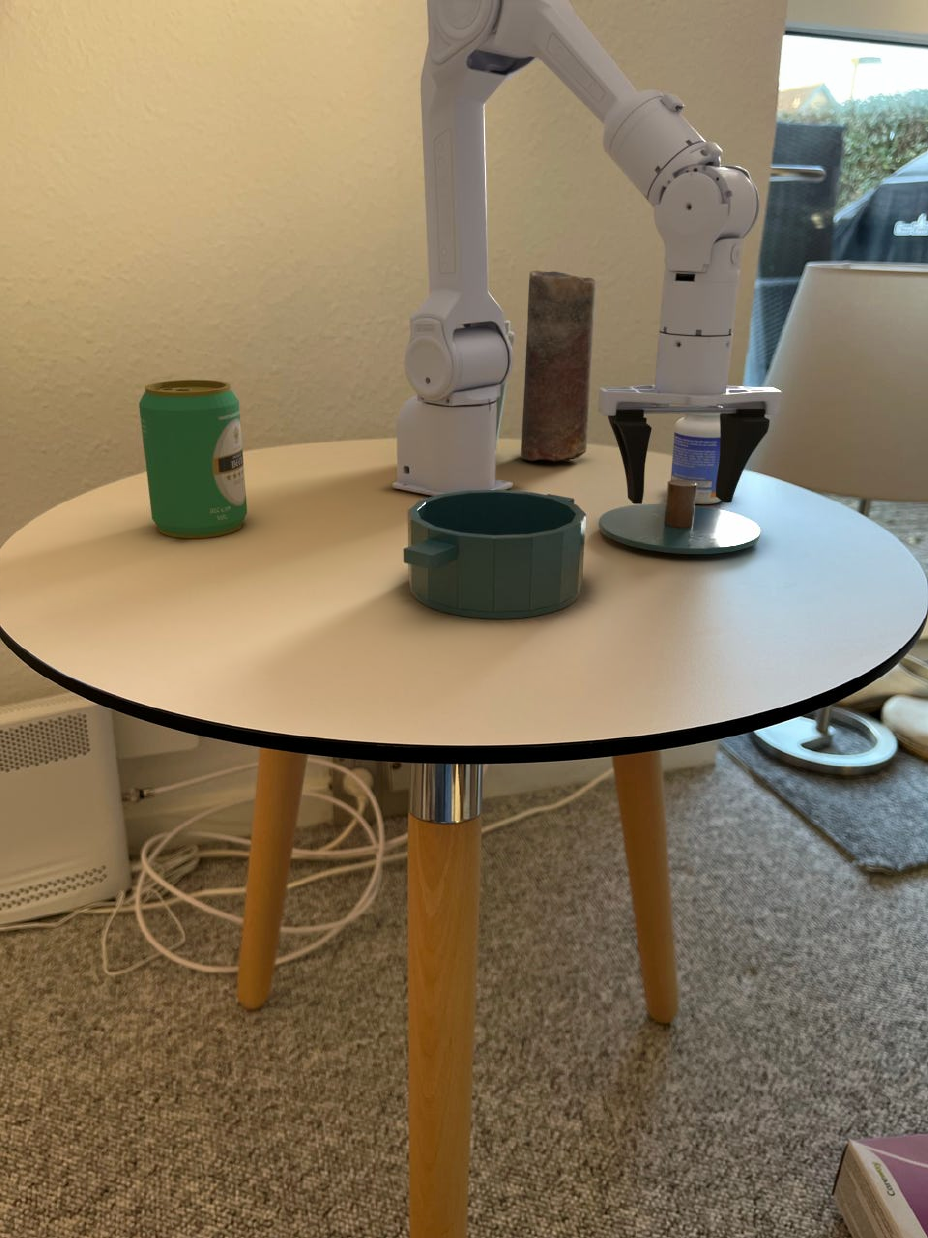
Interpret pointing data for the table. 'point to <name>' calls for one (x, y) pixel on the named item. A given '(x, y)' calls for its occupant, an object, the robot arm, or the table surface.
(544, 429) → the candle
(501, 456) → the table surface
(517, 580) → the pot
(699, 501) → the pill bottle
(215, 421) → the beverage can
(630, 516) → the lid
